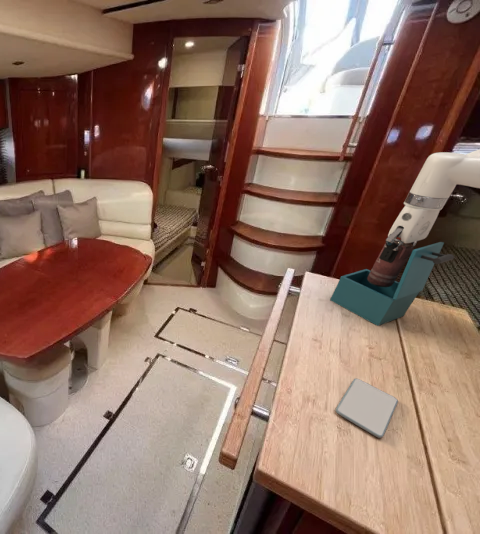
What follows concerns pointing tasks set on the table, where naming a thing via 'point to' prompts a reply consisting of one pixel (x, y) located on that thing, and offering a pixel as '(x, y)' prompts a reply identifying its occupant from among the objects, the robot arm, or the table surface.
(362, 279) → the box
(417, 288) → the cooler lid
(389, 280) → the can
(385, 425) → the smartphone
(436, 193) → the robot arm
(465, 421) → the table surface
